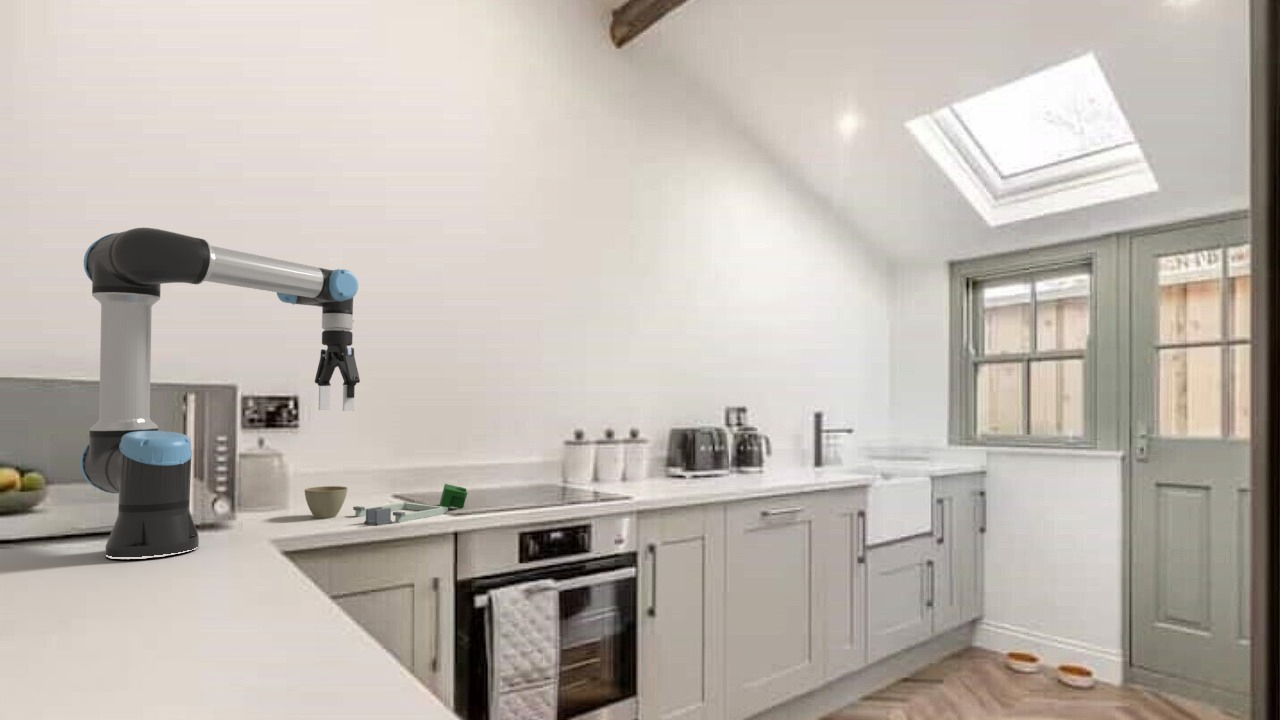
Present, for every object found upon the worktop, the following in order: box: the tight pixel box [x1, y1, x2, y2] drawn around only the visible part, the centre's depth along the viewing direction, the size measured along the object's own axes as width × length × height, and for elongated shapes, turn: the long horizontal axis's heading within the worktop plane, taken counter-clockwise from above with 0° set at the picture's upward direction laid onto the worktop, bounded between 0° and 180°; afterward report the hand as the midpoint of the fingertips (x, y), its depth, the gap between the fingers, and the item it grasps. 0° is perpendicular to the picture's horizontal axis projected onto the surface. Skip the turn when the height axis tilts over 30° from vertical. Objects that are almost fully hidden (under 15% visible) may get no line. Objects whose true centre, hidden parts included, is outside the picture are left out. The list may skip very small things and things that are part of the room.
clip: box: [363, 506, 393, 526], centre depth 172 cm, size 4×5×4 cm
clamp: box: [439, 483, 468, 509], centre depth 196 cm, size 12×6×9 cm, turn 10°
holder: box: [352, 501, 449, 523], centre depth 184 cm, size 16×18×2 cm
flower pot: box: [304, 485, 349, 519], centre depth 181 cm, size 10×10×7 cm
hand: (336, 410), depth 189 cm, fingers open, 13 cm apart
